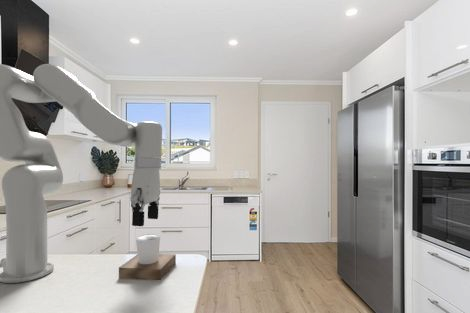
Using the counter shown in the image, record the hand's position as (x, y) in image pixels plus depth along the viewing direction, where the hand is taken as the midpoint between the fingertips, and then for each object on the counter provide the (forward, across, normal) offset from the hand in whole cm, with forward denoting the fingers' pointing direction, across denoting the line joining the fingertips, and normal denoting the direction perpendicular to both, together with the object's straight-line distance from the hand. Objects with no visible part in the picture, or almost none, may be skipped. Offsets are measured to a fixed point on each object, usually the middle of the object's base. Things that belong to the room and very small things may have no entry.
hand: (145, 222), depth 82 cm
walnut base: (+14, 0, +1) cm, 14 cm away
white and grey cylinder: (+11, 0, +1) cm, 11 cm away
